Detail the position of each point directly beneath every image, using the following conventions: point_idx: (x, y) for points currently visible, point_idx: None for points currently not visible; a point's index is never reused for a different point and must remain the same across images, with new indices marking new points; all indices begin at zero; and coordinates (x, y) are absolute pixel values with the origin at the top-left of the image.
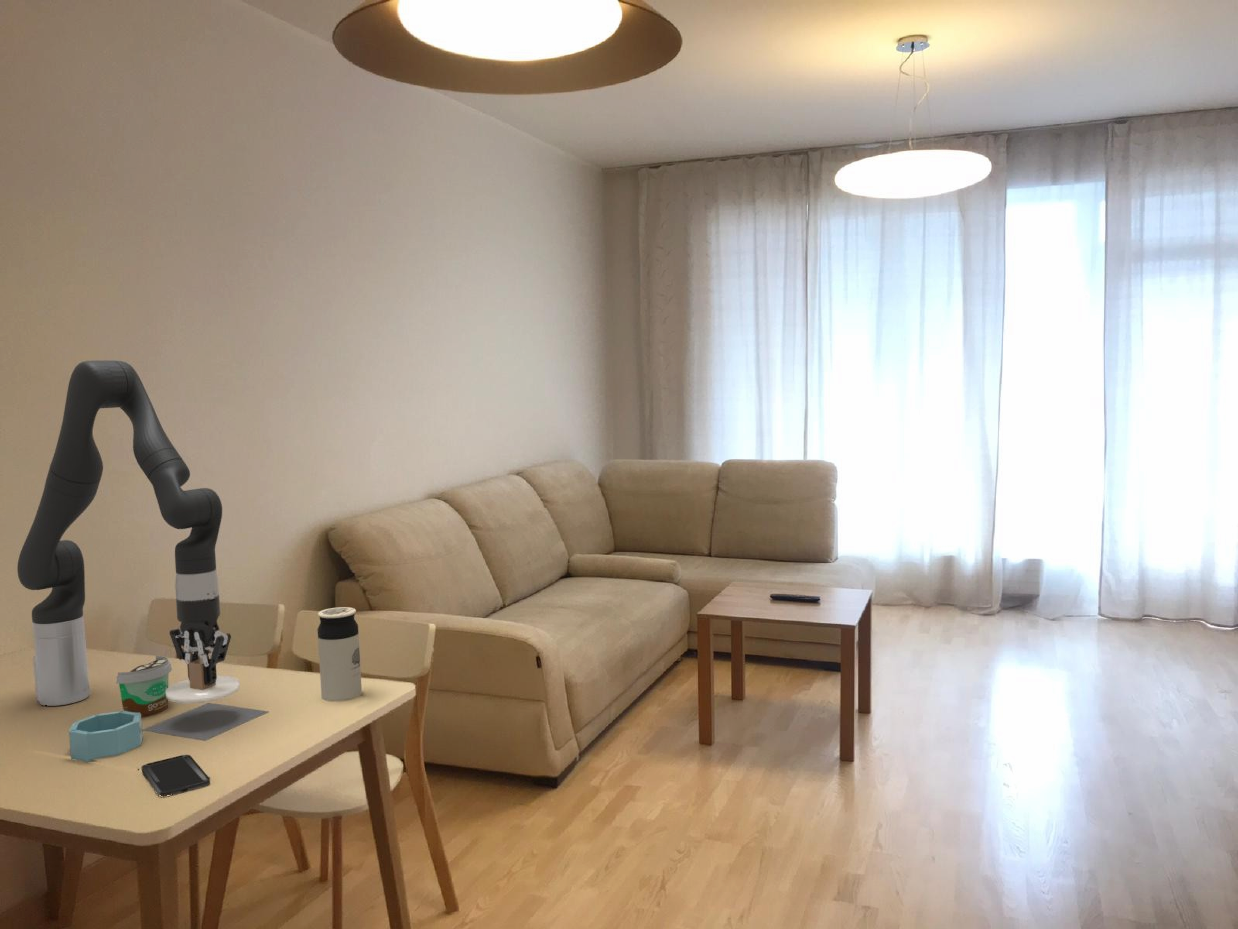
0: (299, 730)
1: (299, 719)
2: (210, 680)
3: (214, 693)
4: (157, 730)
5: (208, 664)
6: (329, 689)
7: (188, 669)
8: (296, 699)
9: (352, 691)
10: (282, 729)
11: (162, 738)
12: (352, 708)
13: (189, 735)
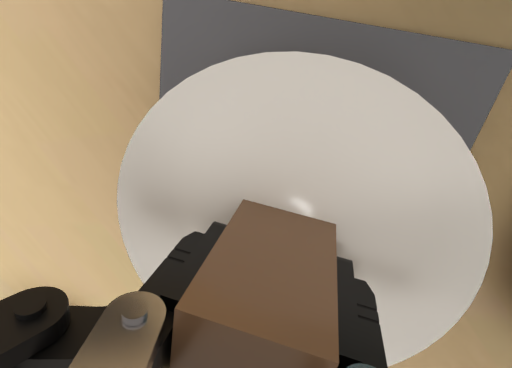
0: (7, 148)
1: (66, 219)
2: (187, 238)
3: (146, 156)
4: (432, 57)
5: (111, 303)
6: None
7: (374, 336)
8: None
9: None
10: (49, 150)
11: (375, 12)
12: (17, 282)
13: (256, 28)
